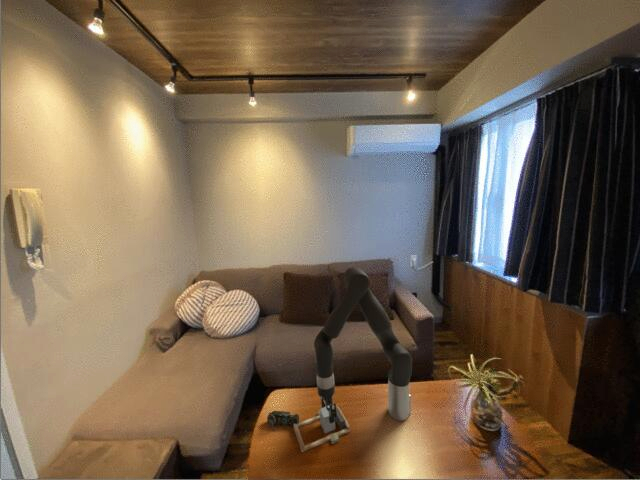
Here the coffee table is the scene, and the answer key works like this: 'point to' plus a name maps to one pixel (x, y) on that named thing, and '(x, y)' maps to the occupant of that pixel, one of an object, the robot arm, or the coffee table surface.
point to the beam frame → (333, 437)
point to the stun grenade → (282, 418)
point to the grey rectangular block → (326, 421)
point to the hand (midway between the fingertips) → (328, 414)
